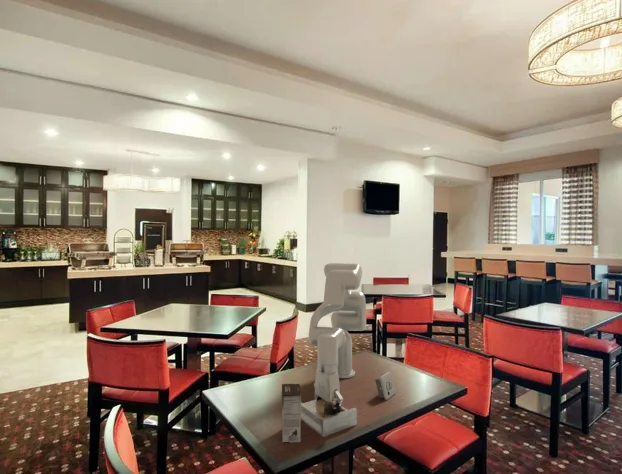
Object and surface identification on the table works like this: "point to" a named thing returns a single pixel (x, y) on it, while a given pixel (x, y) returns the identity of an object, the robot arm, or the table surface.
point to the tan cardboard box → (324, 408)
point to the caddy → (327, 419)
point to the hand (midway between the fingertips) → (327, 412)
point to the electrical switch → (385, 386)
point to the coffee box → (291, 413)
